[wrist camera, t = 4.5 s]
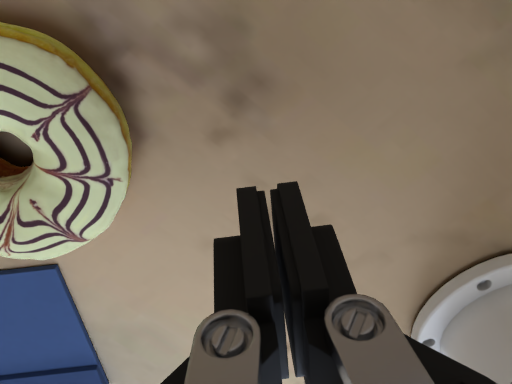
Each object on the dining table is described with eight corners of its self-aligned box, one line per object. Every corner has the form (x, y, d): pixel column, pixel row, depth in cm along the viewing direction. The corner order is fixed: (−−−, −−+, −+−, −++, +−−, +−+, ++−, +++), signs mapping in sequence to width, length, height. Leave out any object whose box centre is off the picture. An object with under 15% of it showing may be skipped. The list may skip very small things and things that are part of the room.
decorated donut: (-76, 214, 23) (-123, 265, 20) (-137, -11, 17) (-217, 9, 14) (134, 233, 25) (121, 283, 21) (140, 31, 19) (124, 58, 16)
